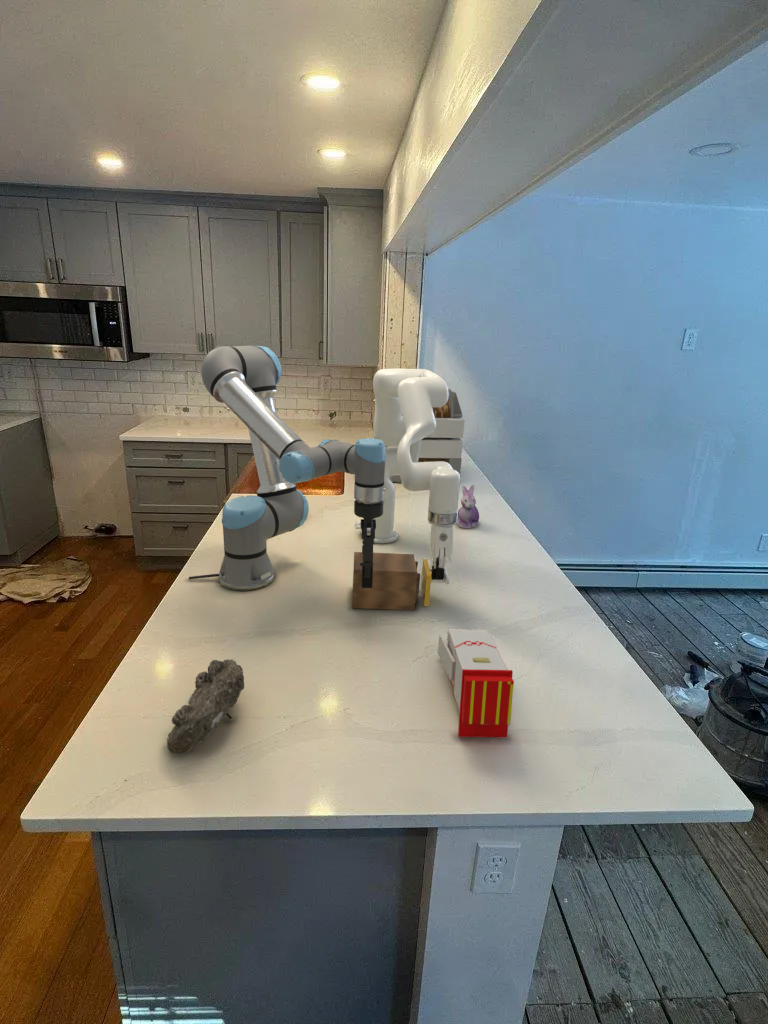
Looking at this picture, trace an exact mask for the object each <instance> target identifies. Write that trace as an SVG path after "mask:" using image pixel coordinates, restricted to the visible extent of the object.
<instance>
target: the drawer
mask: <svg viewBox="0 0 768 1024" xmlns="http://www.w3.org/2000/svg"><path fill="white" fill-rule="evenodd" d="M415 562H416V567H417V568H418V565H419V562H418V561H417V560H415ZM431 572H432V568H430V564H429V560H428V558H422V568H421V572H418V573H417V584H416V596H415V603H419V594H420V593H421V597H422V601H423V606H424V607H430V596H431V595H430V594H431V585H432V583H439V584H440V583H441V584H442V583H443V584H445V585H450V584H451V580H450V577H449V574H448V571H447V568H445V569H444V580H433V579H431V576H432V575H431Z"/></svg>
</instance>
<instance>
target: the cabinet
mask: <svg viewBox="0 0 768 1024" xmlns="http://www.w3.org/2000/svg"><path fill="white" fill-rule="evenodd" d="M415 561H416V558H415V554H414V553H395V552H394V553H393V552H373V580H372V588H362V566H360V563H363V552H362V551H354V552H353V567H352V568H353V572H352V594H351V597H352V598H351V609H363V610H364V609H366V610H367V609H368V610H369V609H370V610H395V611H396V610H397V611H415V605H416V602H415V596H416V584H417V573H419V572H418V567H416V562H415Z"/></svg>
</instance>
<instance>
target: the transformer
mask: <svg viewBox="0 0 768 1024" xmlns="http://www.w3.org/2000/svg"><path fill="white" fill-rule="evenodd" d="M448 394H449V395H448V401H447V403H446V404H445V405H444V406H442V407H432V409H433V413H434V417H435V421H436V429H435V430H434V432H433V433H431V434H430V435H429V436H427V437H425V438H423V439H421V446H420V452H419V459H418V462H437V461H444V462H447V463H449V464H450V465H451V467H452V469H453V470H455V471H457V472H458V473H459V474H460V475H461V472H462V461H463V460H462V453H463V442H464V441H463V440H462V439H463V438H464V431H465V430H464V429H465V419H464V418H463V411H462V408H461V405H460V402H459V398H458V395H457V392H455V391H453V390H452V389H451V388H448ZM402 416H403V415H402ZM398 446H399V445H398ZM398 446H385V447H398ZM389 479H390V481H391V482H392V483H402V482H401V479H400V475H394V476H389Z"/></svg>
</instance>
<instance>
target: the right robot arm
mask: <svg viewBox="0 0 768 1024" xmlns="http://www.w3.org/2000/svg"><path fill="white" fill-rule="evenodd" d="M372 389H373V394H374V399H375V409H374V417H373V428H372V429H373V430H372V437H373V438H372V439H379V440H381V441H383V442H384V444H385V446H398V445H399V446H398V447H385V456H386V461H385V472H384V488H386V491H383V492H384V499H383V500H382V501H383V502H384V505H383V515H382V516H380V517H378V518H374V519H376V530H375V539H374V544H389V543H393V542H395V541H397V540H398V537H399V534H398V532H397V531H396V530H395V528H394V527H395V510H396V509H395V508H396V507H395V506H396V486H395V484H394V482H391V480H390V478H389V476H394V475H400V479H401V482H400V483H401V485H402V486H403V487H404V489H405V490H407V491H410V492H420V491H429V493H428V495H429V496H428V506H427V507H428V509H427V523H428V524H430V535H429V536H430V537H429V538H430V539H429V549H430V554H431V557H432V564H431V569H432V572H431V575H432V576H431V579H433V580H444V569H446V567H445V566H446V561H447V562H448V563H451V562H452V561H453V543H454V542H453V541H454V526H455V525H457V519H458V510H459V509H458V508H459V507H458V506H459V498H460V497H459V496H460V489H461V474H459V473H458V472H457V471H455V470H453V469H452V467H451V465H450V464H449V463H447V462H444V461H437V462H418V459H419V452H420V446H421V439H423V438H425V437H427V436H429V435H430V434H431V433H433V432H434V430H435V429H436V421H435V417H434V413H433V409H432V407H442V406H444V405H445V404H446V403H447V401H448V395H449V394H448V389H449V387H448V385H447V383H446V381H445V380H444V379H443V377H441V376H440V375H438V374H437V373H435V372H433V371H431V370H430V369H427V368H401V367H400V368H399V367H398V368H397V367H396V368H382V369H378V370H377V371H376V372H375V373H374V376H373V380H372ZM402 415H403V416H402ZM354 527H355V529H356V530H361V521H355V522H354ZM360 535H361V537H362V532H361V534H360Z"/></svg>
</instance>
